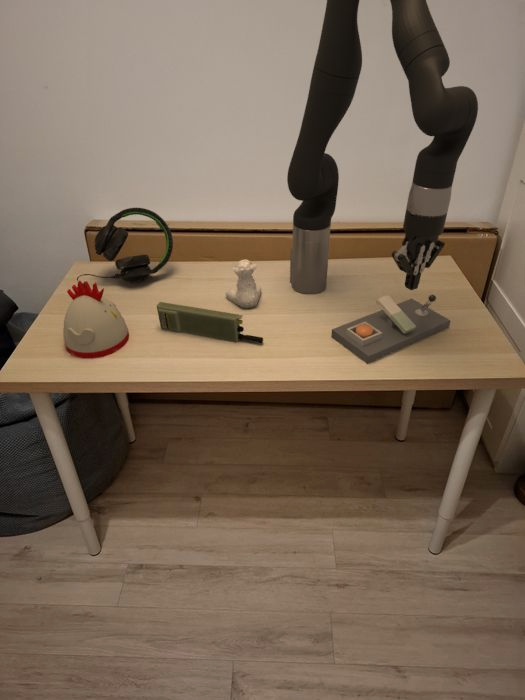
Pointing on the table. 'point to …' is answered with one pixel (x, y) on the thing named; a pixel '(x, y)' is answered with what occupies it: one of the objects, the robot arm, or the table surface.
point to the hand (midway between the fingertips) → (410, 288)
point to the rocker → (396, 314)
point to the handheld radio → (202, 322)
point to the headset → (114, 238)
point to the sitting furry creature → (245, 286)
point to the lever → (428, 302)
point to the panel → (389, 331)
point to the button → (364, 330)
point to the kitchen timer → (93, 324)
